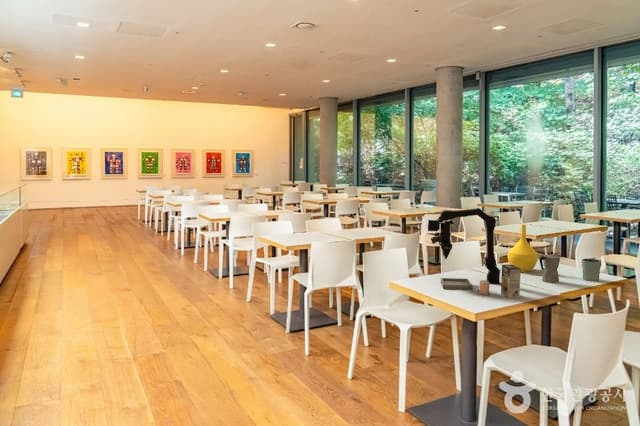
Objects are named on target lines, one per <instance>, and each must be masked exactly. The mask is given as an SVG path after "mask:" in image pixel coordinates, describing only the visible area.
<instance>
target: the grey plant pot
mask: <svg viewBox="0 0 640 426" xmlns="http://www.w3.org/2000/svg"><path fill="white" fill-rule="evenodd" d="M601 266H602V260H600V259H598V258H597V259H596V258H582V259H581V267H582V279H583V281H586V282H592V281H596V282H599V281H600V274H601Z"/></svg>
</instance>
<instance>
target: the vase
mask: <svg viewBox="0 0 640 426" xmlns="http://www.w3.org/2000/svg"><path fill="white" fill-rule="evenodd" d="M538 256H539V255H538V252H537V251H536V250H535V248H534V247H532V246H531V244H530V243H529V242H528V241H527V225H526V224H521V229H520V239H519V241H518V242H517V243H516V244H515V245H514V246H513V247H512V248H511V249H509V250H508V253H507V260H508V263H509V264H508V265H515V266H517V267H519V268H521V273H522V272H523V273H528V272H531V271H533V270H534V268H535V267H536V265H537V263H538V261H539V260H538V259H539V257H538Z"/></svg>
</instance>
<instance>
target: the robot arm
mask: <svg viewBox="0 0 640 426" xmlns="http://www.w3.org/2000/svg"><path fill="white" fill-rule="evenodd" d="M472 216H478V217H479V218H481V220H483V225H484V229H485V236H486V237H485V239H486V240H485V241H486V242H485V243H486V255H485V256H483V262H482V263H483V265H484V267H485V268H486V269H487V270H488V271H487V274H486V281H489V284H492V285H493V284H495V285H496V284H497V285H498V284H501V280H500V278H501V277H500V276H501V275H500V274H501V269H500V268H499V267H498V266H497V261H496V257H495V244H494V243H495V242H494V240H495V238H494V235H495V234H494V231H495V227H496V222H497V221H496V217H494V216H492V215H491V214H487V213H486V212H485V211H483V210H482V209H481V208H479V207H476V208H470V209H460V210H459V209H458V210H452V209H451V210H450V209H443V210H442V211H441V212H440V215H439V217H438V218H437V219H428V220H427V221H428V222H427V232H438V231H439V230H440V231H439V235H436V236H431V237H430V242H431V244H433V245H434V244H436V243H438V245H439V246H440V249H441V251H442V256H443V257H444V259H445V260H447V259H448V257H449V255H450V253H451V251H452V249H453V243H451V242H452V240H451V236H452V234H451V233H452V232H451V228H452V227H451V226H452V225H454V224H455V222H453V220H454V219H456V218H462V217H472Z"/></svg>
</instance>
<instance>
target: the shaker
mask: <svg viewBox="0 0 640 426" xmlns="http://www.w3.org/2000/svg"><path fill="white" fill-rule="evenodd" d="M478 293H479V295H481V296H489V295H490V283H489V281H487V279H486V280H485V279H483V280H479V292H478Z"/></svg>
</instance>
